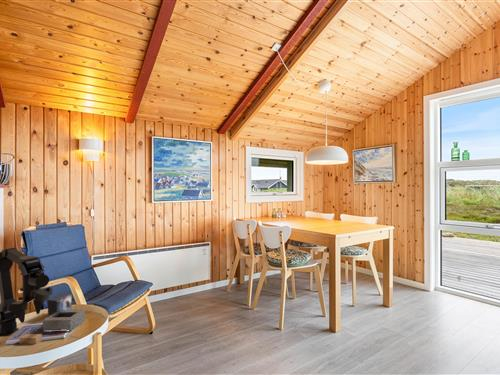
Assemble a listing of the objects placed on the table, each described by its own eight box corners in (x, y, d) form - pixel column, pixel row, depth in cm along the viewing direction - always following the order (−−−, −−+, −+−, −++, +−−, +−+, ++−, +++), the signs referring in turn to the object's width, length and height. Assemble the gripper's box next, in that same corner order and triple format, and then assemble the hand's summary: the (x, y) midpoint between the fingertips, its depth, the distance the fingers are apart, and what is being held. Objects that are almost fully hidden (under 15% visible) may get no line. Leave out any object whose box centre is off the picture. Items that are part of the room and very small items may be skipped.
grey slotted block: (42, 332, 143) (42, 320, 143) (59, 321, 155) (59, 310, 155) (70, 331, 142) (70, 319, 142) (84, 320, 154) (84, 309, 154)
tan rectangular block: (19, 344, 132) (19, 337, 132) (25, 340, 136) (25, 334, 136) (35, 344, 132) (35, 338, 132) (41, 340, 135) (41, 334, 135)
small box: (57, 319, 157) (56, 300, 157) (47, 318, 158) (46, 299, 158) (72, 311, 167) (72, 293, 167) (63, 310, 168) (62, 292, 169)
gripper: (31, 291, 124) (32, 327, 124) (60, 278, 143) (60, 309, 143) (6, 292, 125) (6, 327, 124) (38, 278, 143) (39, 309, 143)
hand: (30, 318), depth 134 cm, fingers open, 9 cm apart
